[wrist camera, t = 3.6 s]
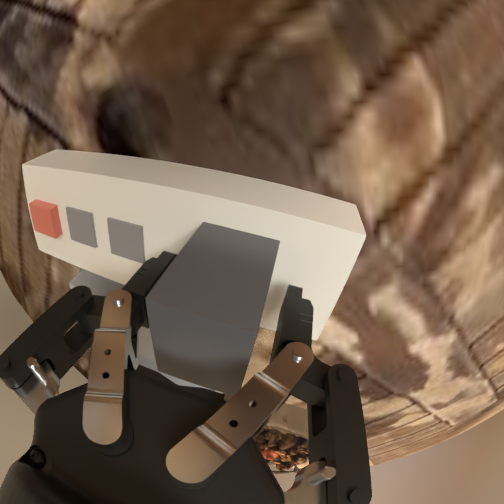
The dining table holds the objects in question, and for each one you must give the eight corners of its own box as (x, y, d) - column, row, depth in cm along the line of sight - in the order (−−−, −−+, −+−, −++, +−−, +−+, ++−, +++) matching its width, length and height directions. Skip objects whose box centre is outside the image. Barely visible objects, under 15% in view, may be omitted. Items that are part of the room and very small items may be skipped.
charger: (221, 200, 16) (145, 298, 9) (285, 215, 16) (257, 332, 9) (213, 265, 19) (157, 370, 12) (269, 280, 19) (238, 396, 11)
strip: (55, 149, 18) (14, 167, 14) (355, 204, 16) (369, 243, 12) (65, 228, 22) (33, 254, 18) (318, 300, 20) (315, 349, 16)
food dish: (205, 446, 54) (195, 471, 47) (117, 368, 40) (96, 402, 33) (353, 456, 40) (349, 488, 34) (334, 377, 26) (328, 442, 20)
